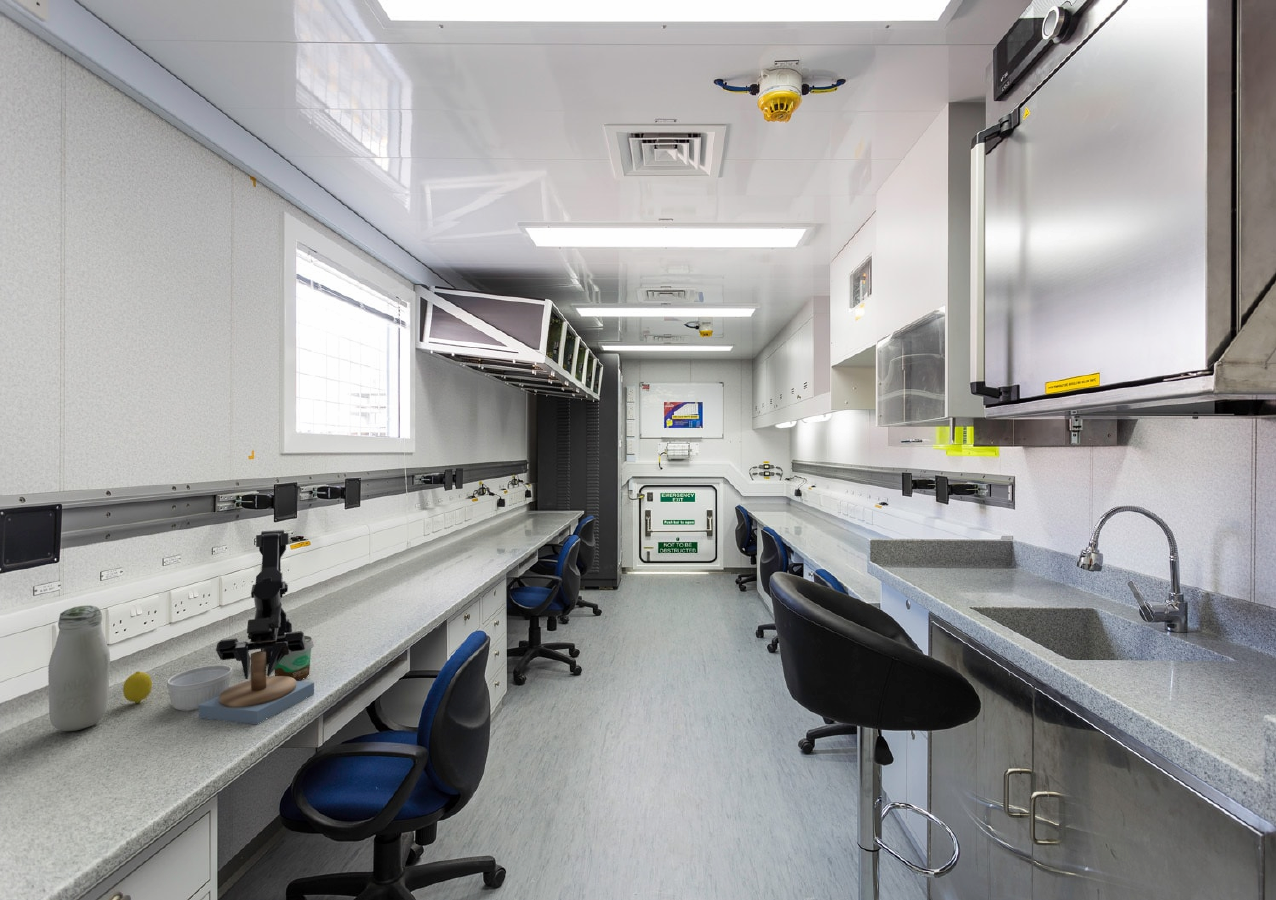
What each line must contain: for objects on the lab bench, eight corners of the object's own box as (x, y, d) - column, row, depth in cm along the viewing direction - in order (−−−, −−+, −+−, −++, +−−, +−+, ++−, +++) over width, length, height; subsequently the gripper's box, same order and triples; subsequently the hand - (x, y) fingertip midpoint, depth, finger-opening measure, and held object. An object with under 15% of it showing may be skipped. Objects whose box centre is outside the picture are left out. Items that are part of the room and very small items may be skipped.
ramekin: (205, 713, 139) (205, 684, 139) (152, 713, 139) (152, 685, 139) (244, 690, 152) (244, 664, 152) (195, 690, 153) (195, 664, 153)
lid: (202, 704, 137) (201, 662, 137) (260, 678, 153) (259, 640, 153) (257, 710, 133) (256, 667, 133) (310, 683, 149) (310, 644, 149)
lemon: (157, 699, 147) (157, 668, 147) (132, 709, 142) (131, 676, 142) (143, 697, 149) (142, 666, 149) (117, 706, 144) (117, 674, 144)
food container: (290, 687, 154) (290, 650, 154) (271, 686, 155) (270, 649, 155) (324, 670, 166) (324, 636, 166) (306, 669, 167) (305, 634, 167)
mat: (198, 717, 137) (198, 705, 137) (260, 688, 153) (260, 677, 153) (257, 724, 133) (257, 711, 133) (314, 693, 149) (314, 682, 149)
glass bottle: (43, 742, 125) (41, 615, 126) (58, 724, 134) (57, 605, 134) (103, 730, 131) (102, 608, 131) (114, 713, 139) (113, 598, 139)
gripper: (217, 608, 143) (203, 667, 133) (303, 600, 150) (296, 656, 140) (227, 630, 151) (214, 688, 140) (308, 622, 158) (302, 676, 147)
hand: (257, 676), depth 142 cm, fingers open, 4 cm apart
